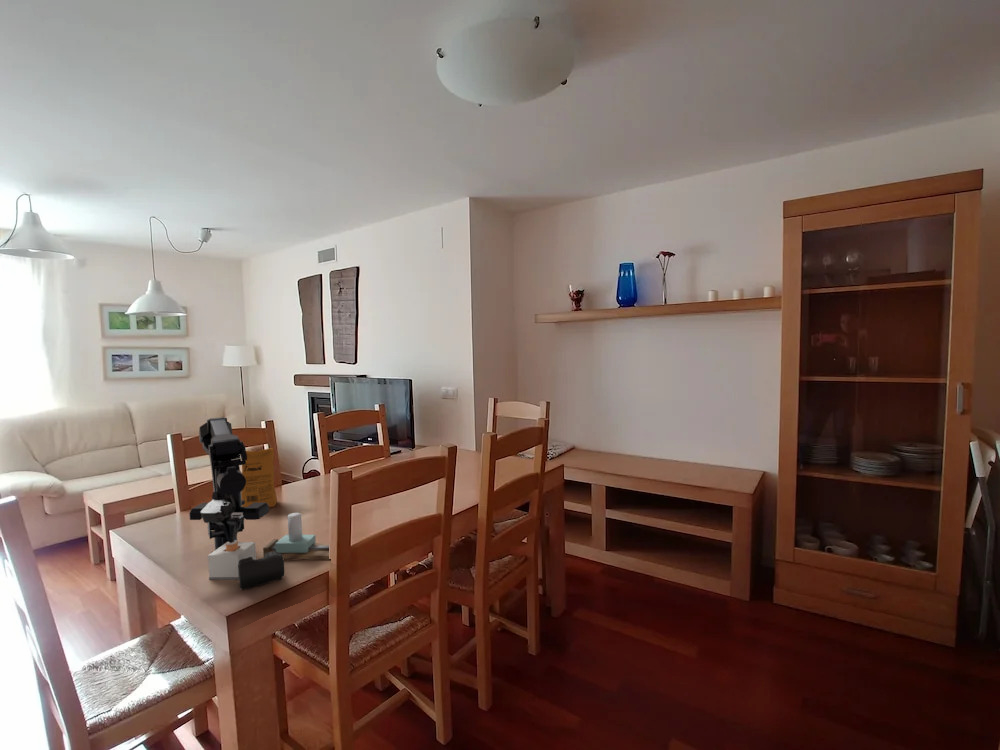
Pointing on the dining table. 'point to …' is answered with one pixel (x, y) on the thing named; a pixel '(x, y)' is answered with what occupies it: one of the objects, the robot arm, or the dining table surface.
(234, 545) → the cylinder
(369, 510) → the dining table surface
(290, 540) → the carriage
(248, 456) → the coffee package
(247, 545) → the cabinet
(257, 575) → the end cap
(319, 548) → the rail
